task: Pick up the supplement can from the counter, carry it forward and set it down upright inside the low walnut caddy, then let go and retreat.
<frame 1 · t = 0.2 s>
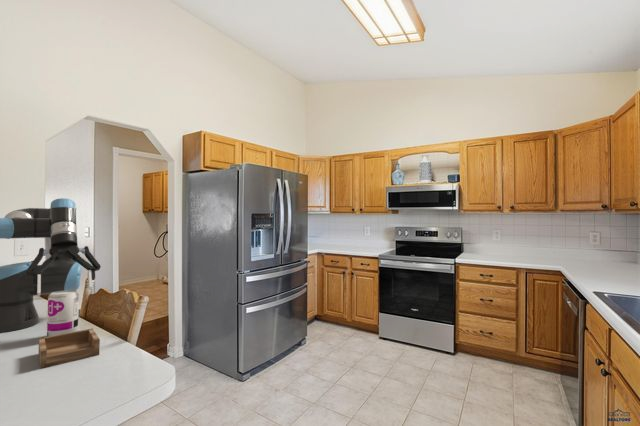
hand: (65, 291, 106), 15 cm above the table, tool tilted 30°, fingers open, 13 cm apart
walnut caddy: (68, 354, 93), on the table
supplement can: (62, 336, 107), on the table
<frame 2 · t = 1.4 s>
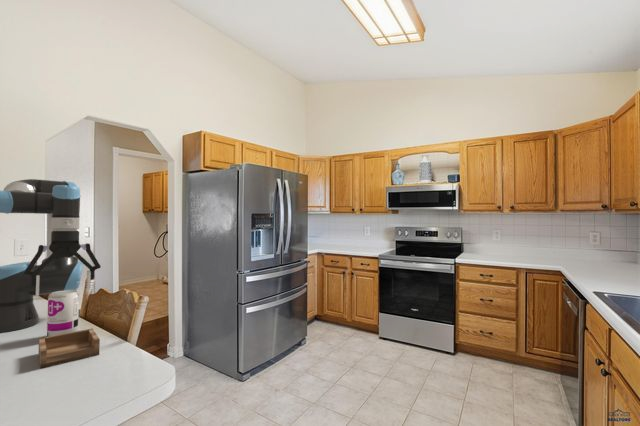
hand: (63, 292, 107), 15 cm above the table, tool pointing down, fingers open, 13 cm apart
nothing on the table moved.
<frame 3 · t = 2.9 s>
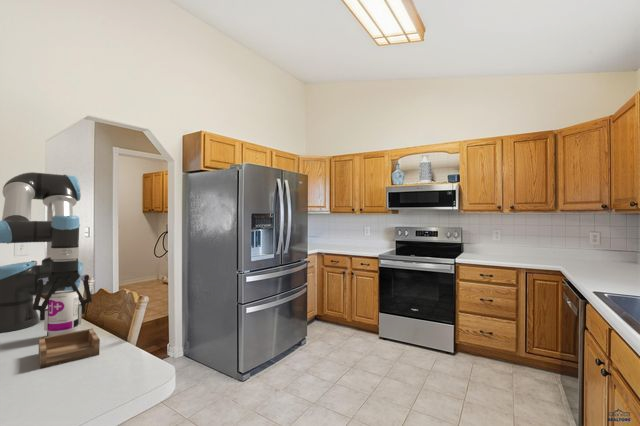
hand: (62, 326, 107), 3 cm above the table, tool pointing down, fingers closed on supplement can, 8 cm apart
supplement can: (62, 336, 107), on the table, touching gripper
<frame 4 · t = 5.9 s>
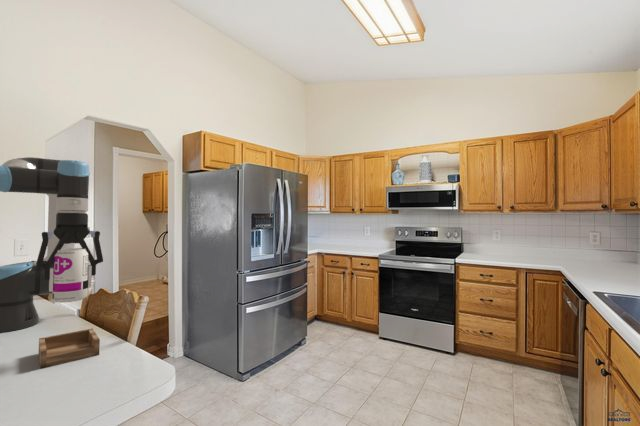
hand: (70, 288, 93), 19 cm above the table, tool pointing down, fingers closed on supplement can, 8 cm apart
supplement can: (70, 300, 93), point 16 cm above the table, touching gripper
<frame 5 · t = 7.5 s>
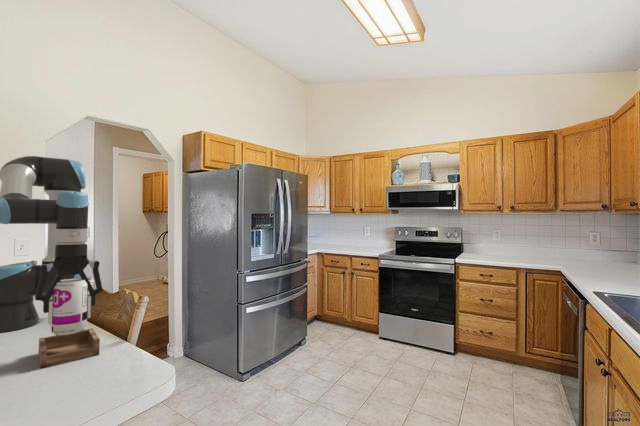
hand: (69, 320, 93), 10 cm above the table, tool pointing down, fingers closed on supplement can, 8 cm apart
supplement can: (69, 331, 93), point 7 cm above the table, touching gripper
when the fingers open (6 cm above the table, at t = 8.7 s): supplement can drops 2 cm, resting on walnut caddy.
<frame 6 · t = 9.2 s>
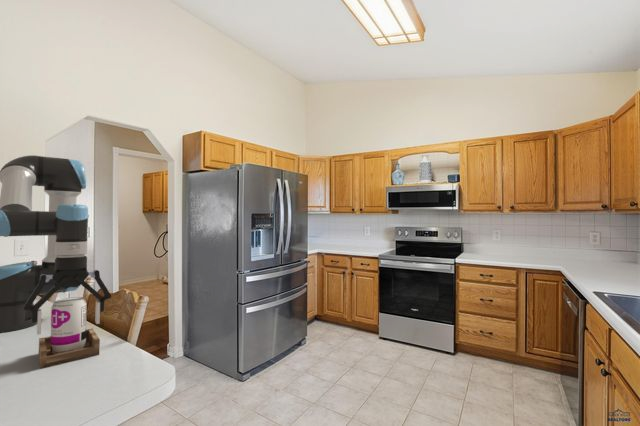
hand: (69, 327, 93), 8 cm above the table, tool pointing down, fingers open, 13 cm apart
supplement can: (68, 351, 93), point 1 cm above the table, touching walnut caddy
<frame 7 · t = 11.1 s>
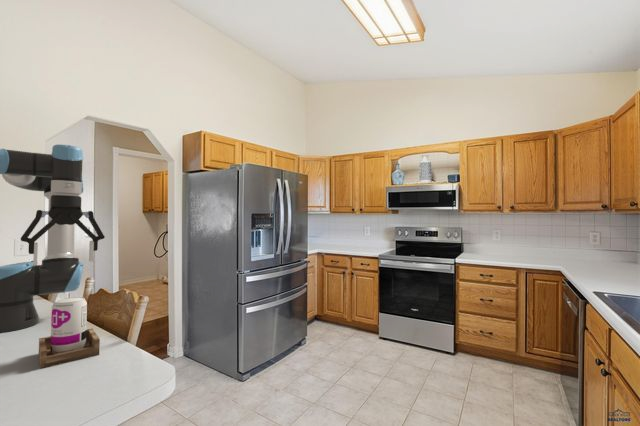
hand: (64, 263, 98), 26 cm above the table, tool pointing down, fingers open, 13 cm apart
nothing on the table moved.
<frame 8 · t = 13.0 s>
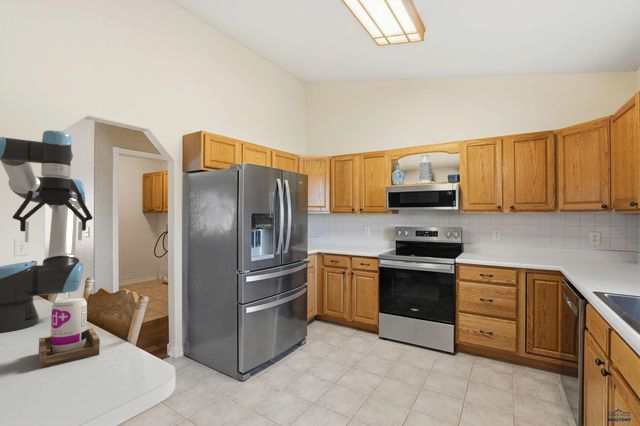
hand: (54, 241, 105), 33 cm above the table, tool pointing down, fingers open, 13 cm apart
nothing on the table moved.
at the end: supplement can inside the target area on the walnut caddy (0.1 cm from its centre), point 0.8 cm above the walnut caddy's base; supplement can tilted 0°; the gripper is holding nothing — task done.
